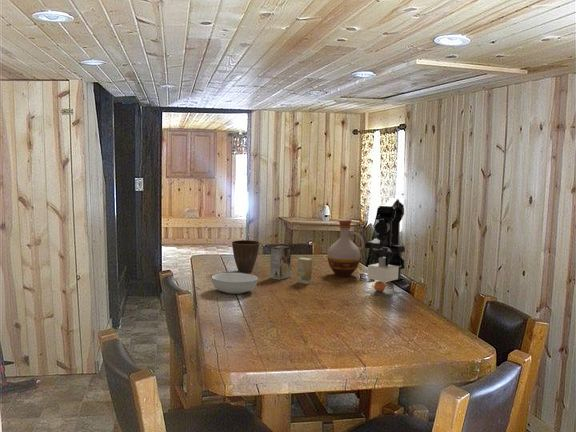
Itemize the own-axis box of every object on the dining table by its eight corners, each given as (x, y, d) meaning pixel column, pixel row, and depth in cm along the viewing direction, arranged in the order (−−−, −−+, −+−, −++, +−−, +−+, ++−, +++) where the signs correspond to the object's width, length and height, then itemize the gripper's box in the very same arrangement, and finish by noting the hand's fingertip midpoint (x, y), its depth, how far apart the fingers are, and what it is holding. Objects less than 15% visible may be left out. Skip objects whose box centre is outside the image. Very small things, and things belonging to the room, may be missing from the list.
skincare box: (296, 282, 269) (297, 258, 268) (300, 281, 273) (301, 257, 272) (308, 284, 266) (308, 259, 265) (311, 282, 270) (312, 258, 269)
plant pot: (257, 274, 285) (258, 244, 284) (229, 273, 286) (230, 243, 284) (259, 269, 300) (260, 240, 299) (233, 268, 301) (233, 239, 299)
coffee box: (280, 275, 285) (281, 245, 284) (290, 277, 282) (291, 246, 280) (269, 278, 278) (270, 247, 277) (279, 279, 274) (280, 248, 273)
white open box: (379, 275, 260) (380, 254, 259) (398, 279, 253) (399, 257, 252) (367, 278, 253) (368, 256, 252) (385, 282, 246) (386, 260, 245)
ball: (388, 289, 254) (380, 292, 257) (384, 279, 255) (377, 283, 258) (382, 290, 250) (374, 294, 253) (378, 280, 252) (370, 284, 255)
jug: (362, 272, 299) (364, 218, 296) (363, 279, 281) (366, 222, 278) (326, 271, 301) (328, 217, 298) (325, 277, 283) (328, 220, 280)
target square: (379, 288, 262) (379, 287, 262) (400, 292, 254) (400, 292, 254) (364, 291, 254) (364, 291, 253) (385, 296, 245) (385, 296, 245)
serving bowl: (250, 298, 235) (250, 283, 234) (204, 295, 239) (204, 279, 238) (262, 288, 255) (262, 274, 254) (219, 285, 259) (220, 271, 258)
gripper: (358, 231, 252) (357, 264, 253) (392, 235, 239) (390, 270, 240) (372, 229, 260) (371, 261, 261) (406, 233, 247) (404, 267, 248)
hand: (383, 265), depth 252 cm, fingers closed on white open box, 3 cm apart
